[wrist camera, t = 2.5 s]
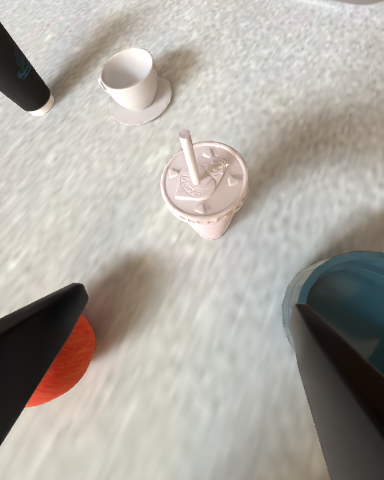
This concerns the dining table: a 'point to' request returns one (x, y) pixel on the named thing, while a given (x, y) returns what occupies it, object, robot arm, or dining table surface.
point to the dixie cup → (21, 78)
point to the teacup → (134, 87)
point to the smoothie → (205, 185)
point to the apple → (67, 364)
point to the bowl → (345, 300)
